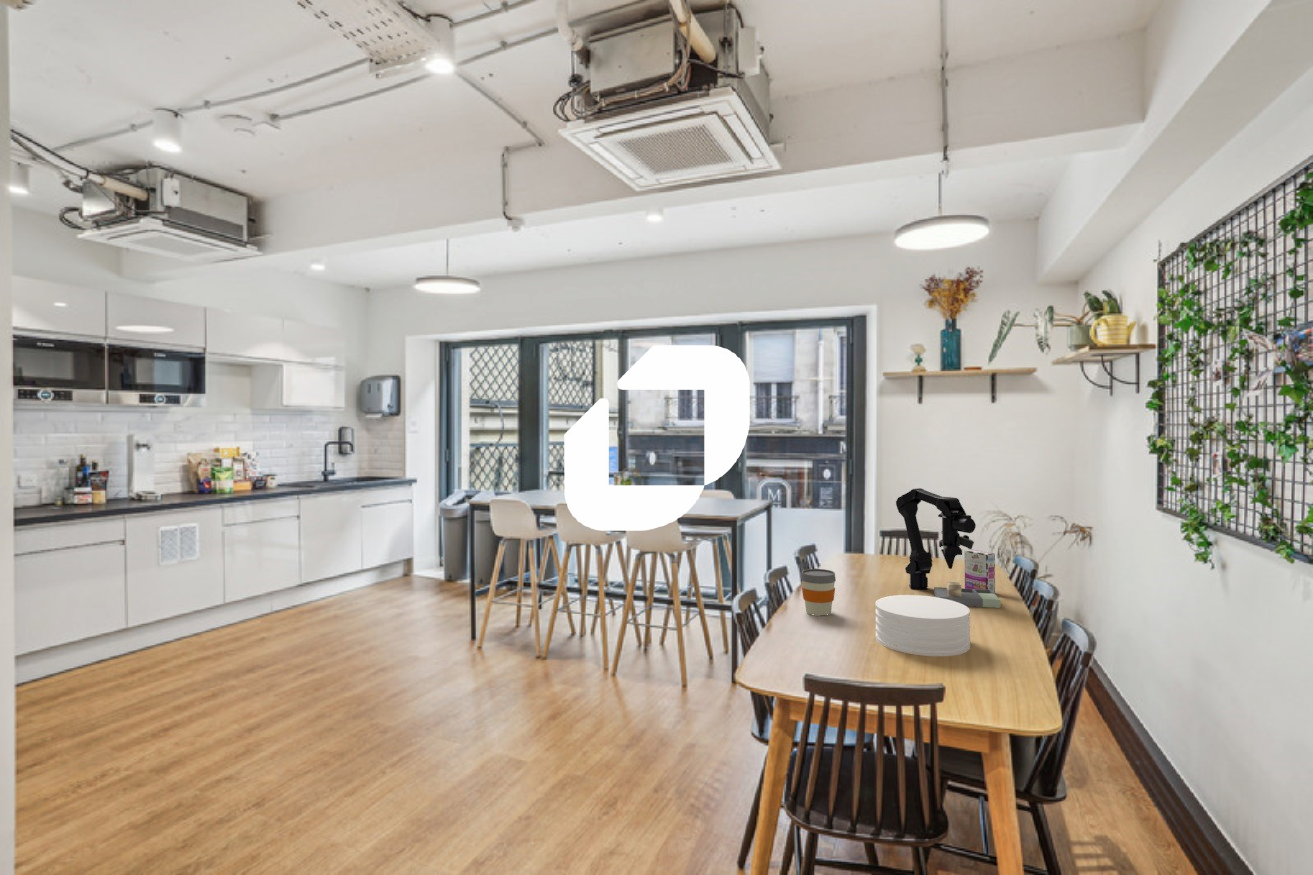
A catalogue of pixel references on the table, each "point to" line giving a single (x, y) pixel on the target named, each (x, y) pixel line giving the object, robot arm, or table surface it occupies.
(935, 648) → the plate stack
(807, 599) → the reusable coffee cup
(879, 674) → the table surface
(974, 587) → the candy bar box
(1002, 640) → the table surface
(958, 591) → the maple block
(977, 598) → the trap deck
